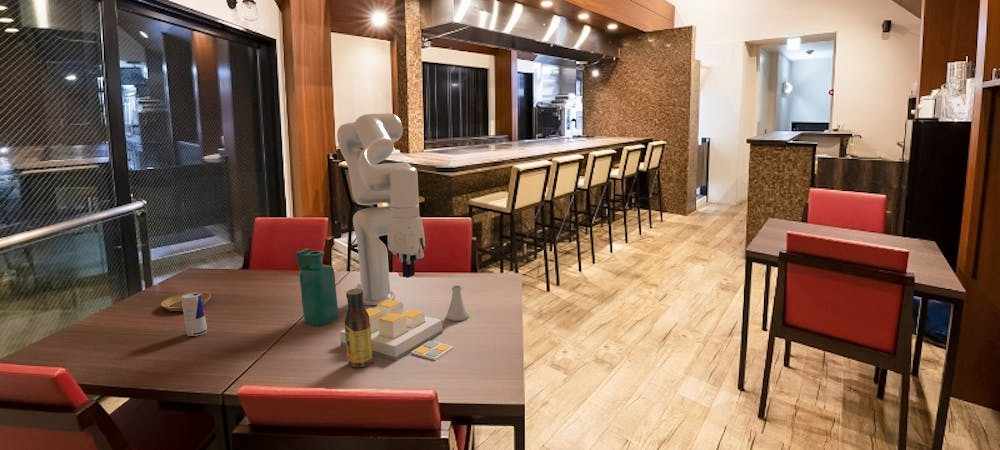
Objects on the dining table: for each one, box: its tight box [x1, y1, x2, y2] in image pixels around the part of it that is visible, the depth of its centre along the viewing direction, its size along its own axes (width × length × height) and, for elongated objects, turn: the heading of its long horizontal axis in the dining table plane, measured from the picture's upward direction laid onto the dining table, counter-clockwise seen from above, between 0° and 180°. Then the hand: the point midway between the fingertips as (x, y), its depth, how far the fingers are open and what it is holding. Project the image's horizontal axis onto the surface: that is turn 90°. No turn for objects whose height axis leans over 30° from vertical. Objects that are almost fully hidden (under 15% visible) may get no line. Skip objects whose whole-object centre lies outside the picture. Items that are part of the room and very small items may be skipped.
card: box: [410, 340, 454, 361], centre depth 148 cm, size 8×8×1 cm
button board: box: [339, 310, 443, 361], centre depth 156 cm, size 20×20×4 cm
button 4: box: [400, 308, 426, 329], centre depth 157 cm, size 5×5×5 cm
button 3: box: [378, 313, 407, 340], centre depth 150 cm, size 5×5×5 cm
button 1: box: [365, 307, 384, 334], centre depth 154 cm, size 5×5×5 cm
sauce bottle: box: [343, 288, 373, 368], centre depth 139 cm, size 7×6×20 cm
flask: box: [446, 284, 470, 322], centre depth 170 cm, size 7×7×10 cm
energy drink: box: [181, 291, 208, 337], centre depth 161 cm, size 5×5×12 cm
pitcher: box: [294, 248, 339, 326], centre depth 169 cm, size 10×8×22 cm
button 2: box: [376, 299, 404, 316], centre depth 160 cm, size 5×5×5 cm
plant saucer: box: [160, 291, 212, 312], centre depth 186 cm, size 15×15×3 cm
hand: (408, 275), depth 154 cm, fingers closed
